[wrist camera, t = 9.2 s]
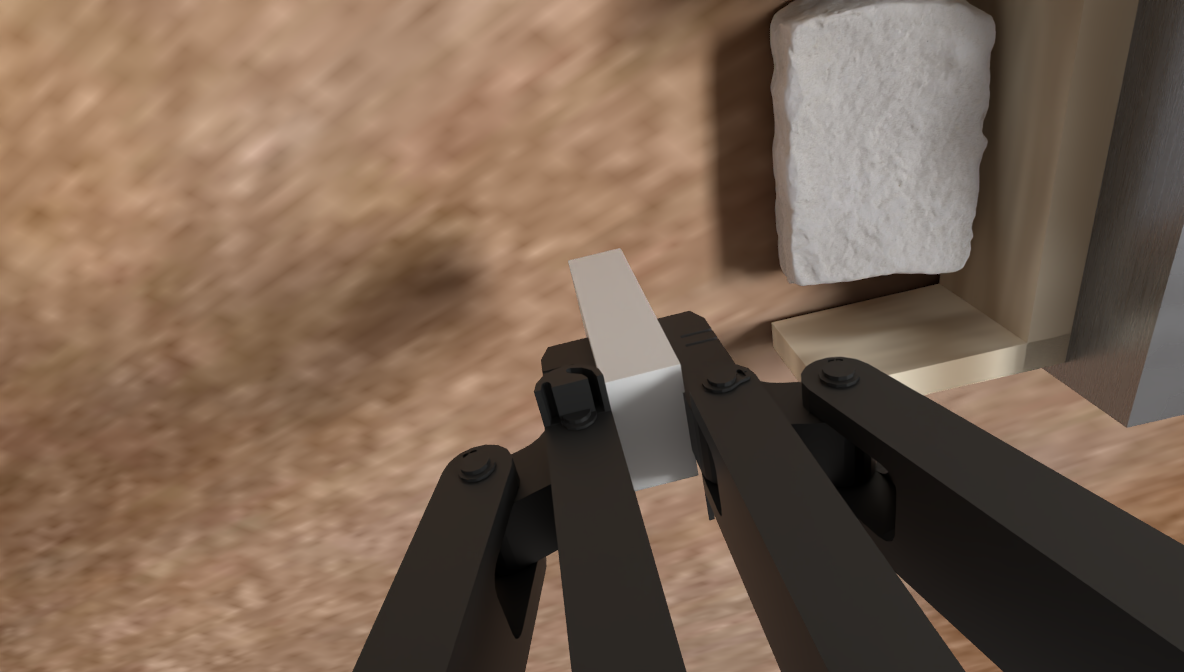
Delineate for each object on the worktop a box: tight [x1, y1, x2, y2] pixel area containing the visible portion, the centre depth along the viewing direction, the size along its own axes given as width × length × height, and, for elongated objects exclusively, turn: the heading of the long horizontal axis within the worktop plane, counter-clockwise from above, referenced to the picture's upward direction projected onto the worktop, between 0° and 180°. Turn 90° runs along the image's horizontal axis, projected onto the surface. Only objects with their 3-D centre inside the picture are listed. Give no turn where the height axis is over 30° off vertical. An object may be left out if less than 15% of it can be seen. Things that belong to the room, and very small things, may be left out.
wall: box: [1043, 0, 1184, 428], centre depth 19 cm, size 2×16×8 cm, turn 11°
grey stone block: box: [770, 0, 996, 286], centre depth 21 cm, size 10×6×6 cm, turn 5°
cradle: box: [772, 0, 1139, 395], centre depth 20 cm, size 8×14×5 cm, turn 11°
